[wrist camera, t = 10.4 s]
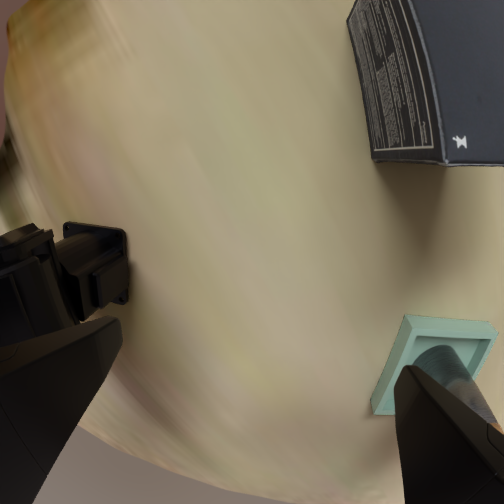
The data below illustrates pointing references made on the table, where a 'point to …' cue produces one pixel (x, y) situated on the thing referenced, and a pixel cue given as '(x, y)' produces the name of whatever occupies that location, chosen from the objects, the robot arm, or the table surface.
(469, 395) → the lidded jar
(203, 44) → the table surface
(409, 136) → the small box
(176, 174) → the table surface
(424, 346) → the tray
